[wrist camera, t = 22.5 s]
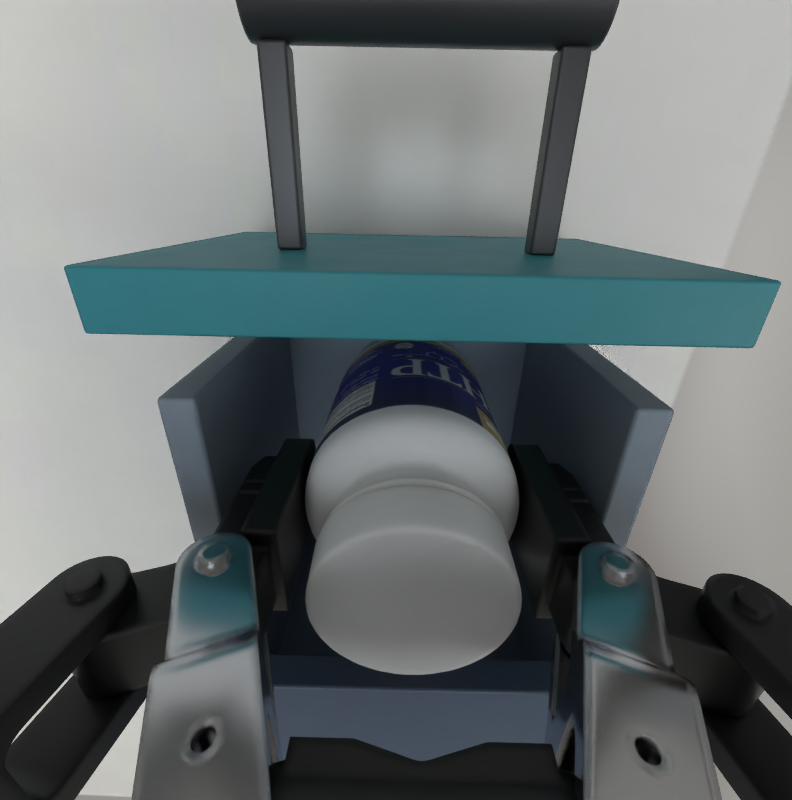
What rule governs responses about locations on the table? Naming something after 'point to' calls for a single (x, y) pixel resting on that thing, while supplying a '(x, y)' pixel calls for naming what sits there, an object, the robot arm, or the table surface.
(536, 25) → the drawer
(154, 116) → the table surface
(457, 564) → the pill bottle
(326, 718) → the cabinet
